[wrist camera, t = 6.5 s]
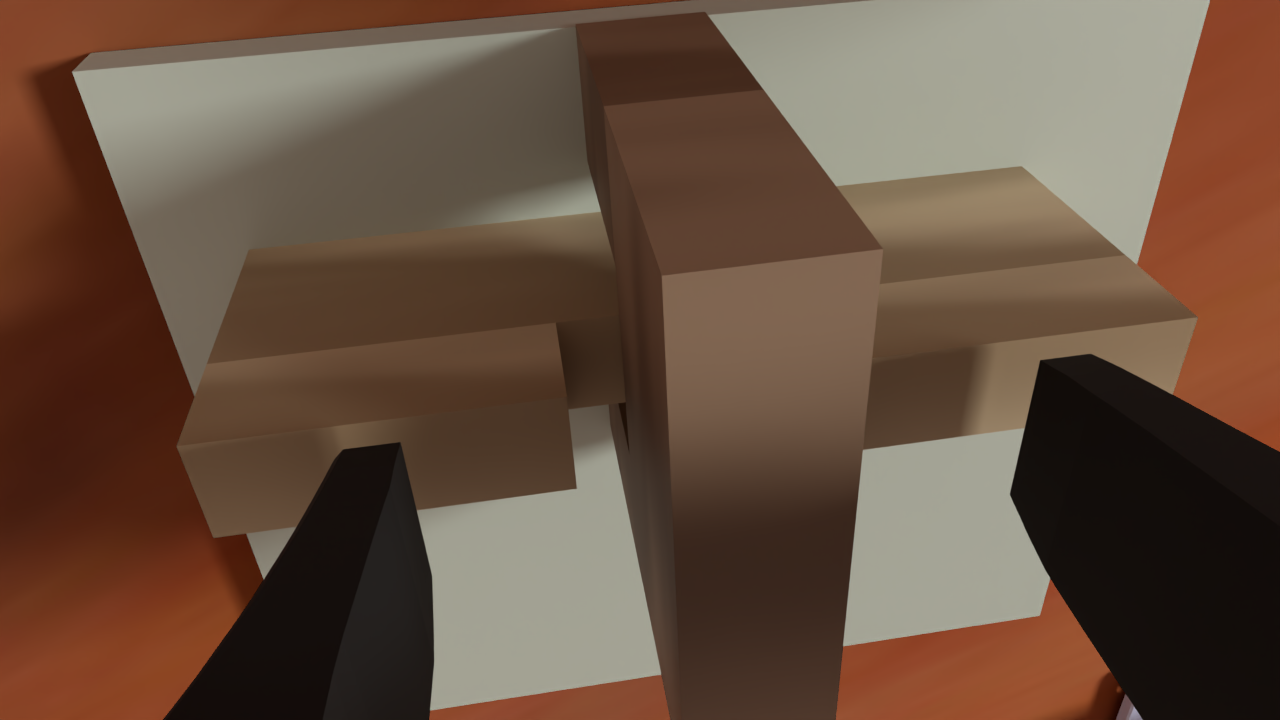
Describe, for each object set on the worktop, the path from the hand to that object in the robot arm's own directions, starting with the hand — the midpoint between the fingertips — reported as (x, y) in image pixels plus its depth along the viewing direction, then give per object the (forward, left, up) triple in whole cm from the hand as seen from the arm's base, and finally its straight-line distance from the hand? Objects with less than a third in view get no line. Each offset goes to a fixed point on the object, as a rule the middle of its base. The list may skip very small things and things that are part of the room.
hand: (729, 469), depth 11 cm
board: (-3, 0, -6) cm, 7 cm away
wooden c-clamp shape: (0, 0, -5) cm, 5 cm away
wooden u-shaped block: (0, 0, -5) cm, 5 cm away
